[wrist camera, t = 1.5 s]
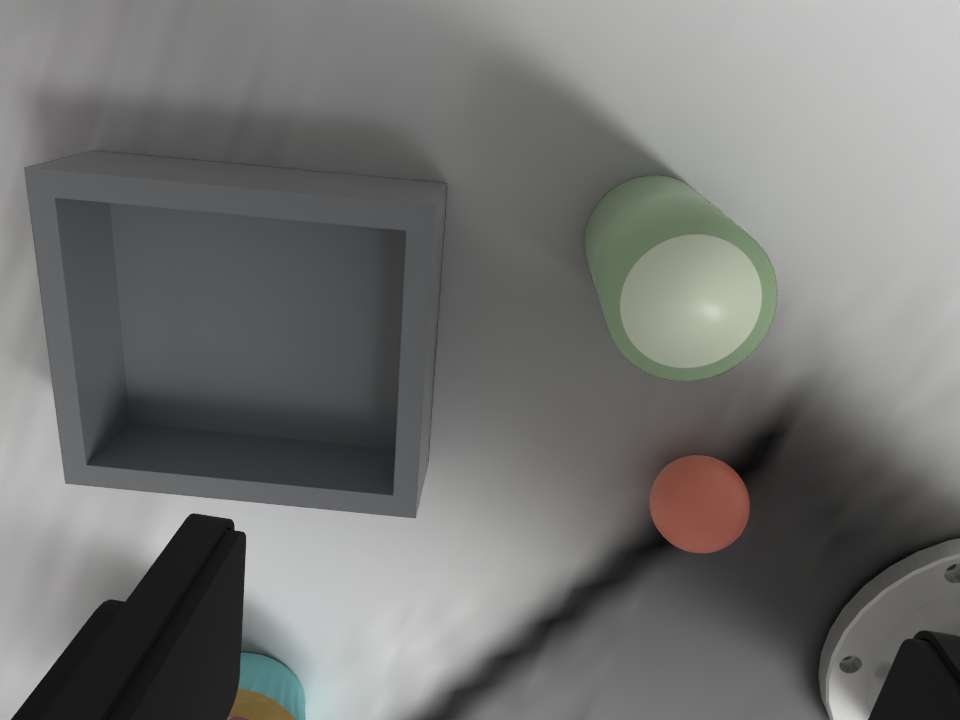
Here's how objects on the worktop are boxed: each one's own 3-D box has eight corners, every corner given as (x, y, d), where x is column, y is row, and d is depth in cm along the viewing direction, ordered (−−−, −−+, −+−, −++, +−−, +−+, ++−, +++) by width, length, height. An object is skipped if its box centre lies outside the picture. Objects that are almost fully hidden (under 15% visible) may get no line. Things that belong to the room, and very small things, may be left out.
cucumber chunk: (726, 181, 26) (795, 227, 20) (701, 308, 28) (757, 389, 21) (593, 169, 26) (618, 210, 20) (576, 296, 28) (593, 373, 21)
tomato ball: (744, 442, 30) (772, 492, 26) (725, 522, 31) (749, 578, 28) (650, 434, 30) (667, 481, 26) (636, 513, 31) (649, 568, 28)
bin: (447, 183, 26) (435, 205, 23) (428, 460, 30) (415, 518, 27) (93, 150, 27) (24, 167, 23) (120, 430, 31) (65, 483, 27)
